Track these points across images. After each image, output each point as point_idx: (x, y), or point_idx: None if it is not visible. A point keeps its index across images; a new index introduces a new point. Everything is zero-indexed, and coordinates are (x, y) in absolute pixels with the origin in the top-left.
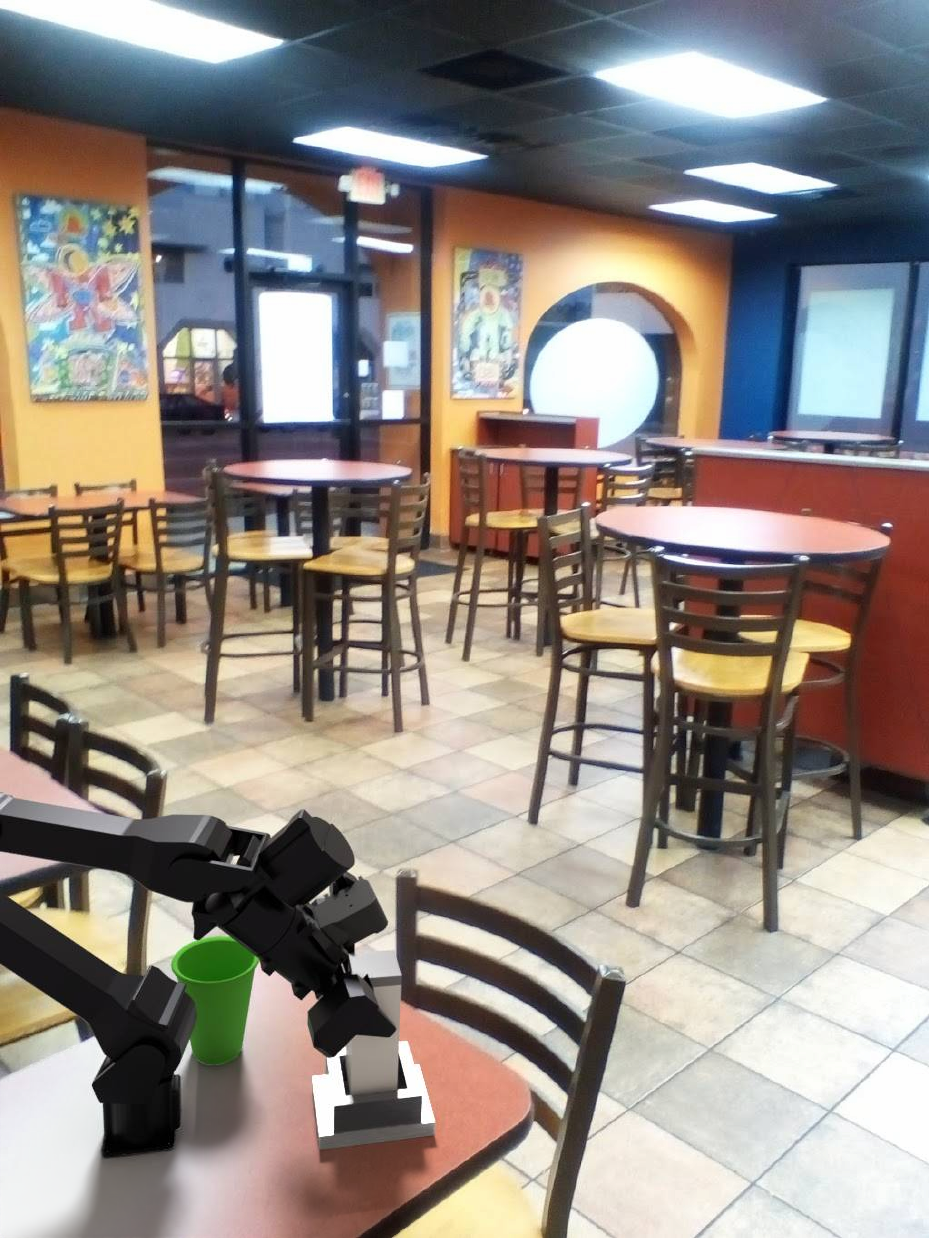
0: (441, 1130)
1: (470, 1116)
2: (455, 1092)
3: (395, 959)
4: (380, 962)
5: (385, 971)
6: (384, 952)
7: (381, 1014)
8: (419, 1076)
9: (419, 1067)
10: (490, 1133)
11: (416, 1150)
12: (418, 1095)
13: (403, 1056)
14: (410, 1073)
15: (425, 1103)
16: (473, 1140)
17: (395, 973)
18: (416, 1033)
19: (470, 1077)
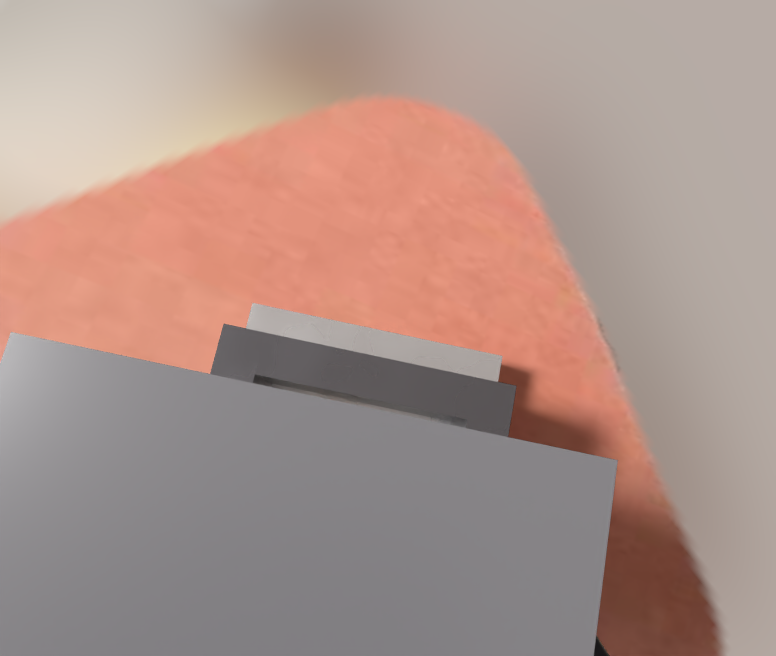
0: (481, 337)
1: (459, 247)
2: (359, 244)
3: (236, 400)
4: (231, 635)
5: (464, 640)
6: (10, 482)
7: (605, 650)
8: (305, 323)
9: (266, 307)
10: (533, 227)
11: (527, 427)
12: (513, 398)
13: (299, 370)
14: (396, 381)
15: (421, 351)
16: (542, 276)
17: (558, 524)
18: (73, 243)
19: (319, 183)
